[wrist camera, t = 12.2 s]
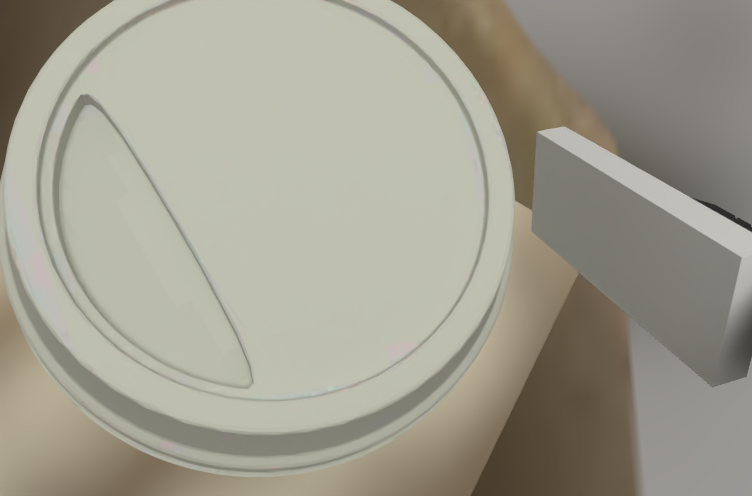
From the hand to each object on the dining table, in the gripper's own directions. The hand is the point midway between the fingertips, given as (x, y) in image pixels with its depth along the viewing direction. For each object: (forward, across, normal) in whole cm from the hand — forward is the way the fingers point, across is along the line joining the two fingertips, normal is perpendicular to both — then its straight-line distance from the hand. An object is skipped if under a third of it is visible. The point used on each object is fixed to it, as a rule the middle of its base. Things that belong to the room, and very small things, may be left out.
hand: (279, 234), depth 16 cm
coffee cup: (+4, 0, -5) cm, 7 cm away
